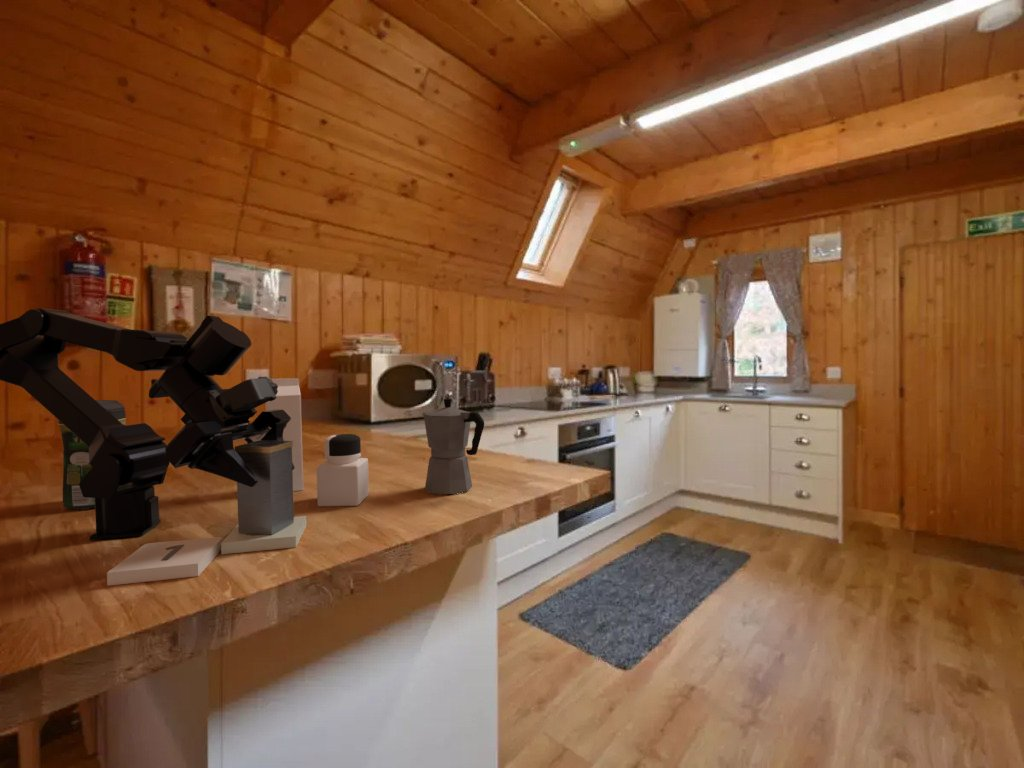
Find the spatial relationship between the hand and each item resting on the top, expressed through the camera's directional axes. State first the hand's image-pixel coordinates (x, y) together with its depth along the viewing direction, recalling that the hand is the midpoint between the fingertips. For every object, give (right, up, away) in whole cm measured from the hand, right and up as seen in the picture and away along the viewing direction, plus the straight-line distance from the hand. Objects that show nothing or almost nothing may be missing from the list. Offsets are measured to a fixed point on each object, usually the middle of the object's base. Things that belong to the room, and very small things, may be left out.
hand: (274, 477), depth 67 cm
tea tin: (-1, -7, +1) cm, 7 cm away
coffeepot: (+22, -8, +26) cm, 35 cm away
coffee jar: (-41, -8, +19) cm, 46 cm away
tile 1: (-9, -9, -8) cm, 15 cm away
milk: (-12, -8, +28) cm, 31 cm away
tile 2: (-1, -9, +1) cm, 9 cm away
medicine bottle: (+3, -8, +19) cm, 21 cm away
